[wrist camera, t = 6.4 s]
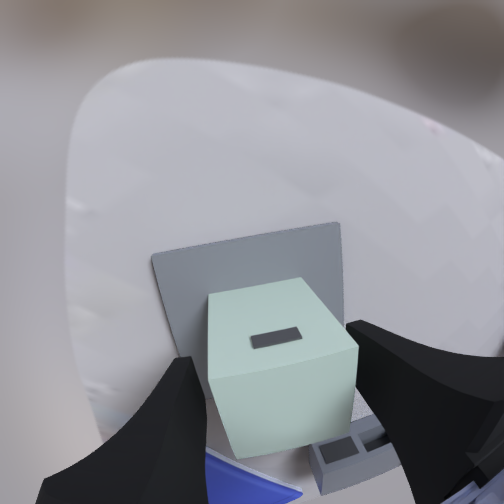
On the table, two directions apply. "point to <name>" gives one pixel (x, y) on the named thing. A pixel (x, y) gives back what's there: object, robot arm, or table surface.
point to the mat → (244, 278)
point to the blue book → (243, 483)
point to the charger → (279, 367)
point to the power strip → (352, 456)
